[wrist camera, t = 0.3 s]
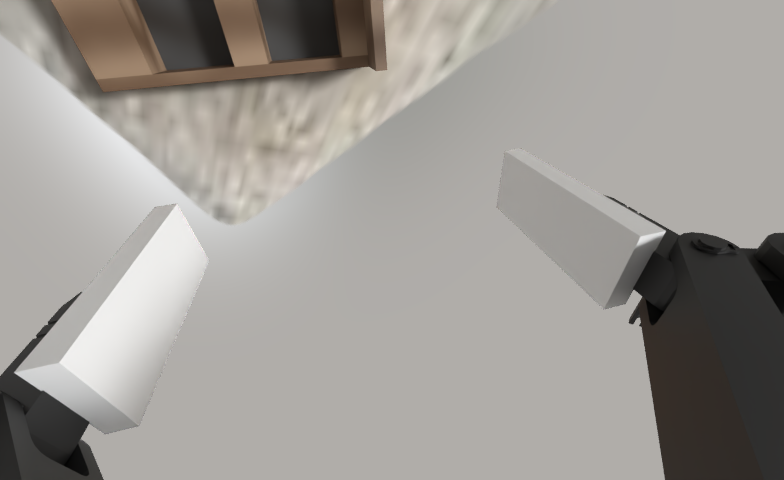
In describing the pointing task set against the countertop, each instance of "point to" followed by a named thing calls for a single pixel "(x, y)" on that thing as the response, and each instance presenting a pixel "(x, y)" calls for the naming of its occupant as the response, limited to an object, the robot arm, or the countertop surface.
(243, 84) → the countertop surface
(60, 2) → the box
